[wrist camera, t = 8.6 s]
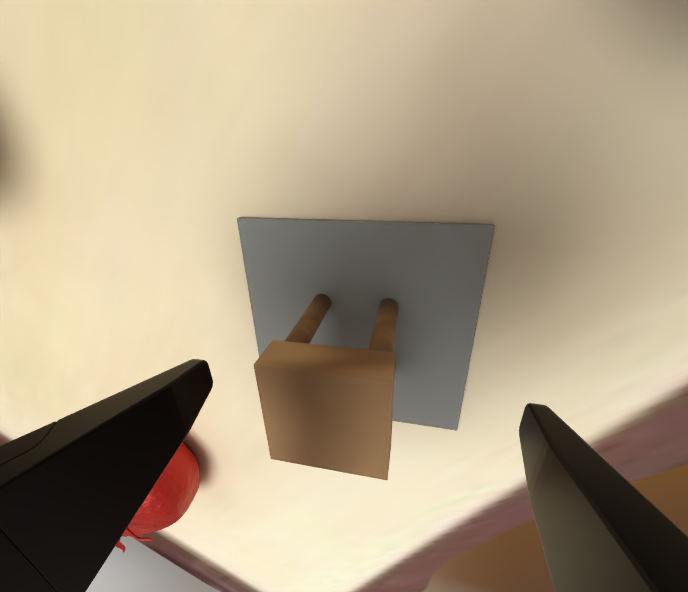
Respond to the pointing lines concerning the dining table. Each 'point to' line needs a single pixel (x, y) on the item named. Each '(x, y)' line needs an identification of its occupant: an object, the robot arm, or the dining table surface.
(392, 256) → the mat
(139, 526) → the pomegranate
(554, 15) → the dining table surface
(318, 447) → the stool
